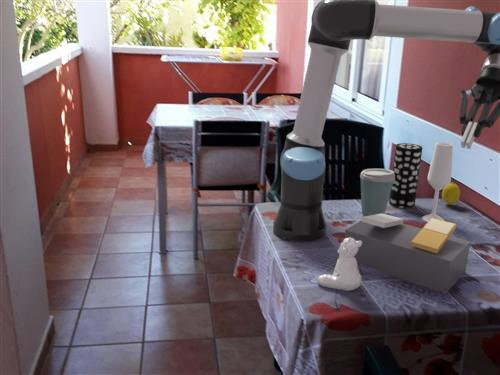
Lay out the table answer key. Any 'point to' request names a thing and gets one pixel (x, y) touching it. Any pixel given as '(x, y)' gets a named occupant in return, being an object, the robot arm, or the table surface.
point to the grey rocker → (382, 220)
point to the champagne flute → (439, 173)
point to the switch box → (409, 255)
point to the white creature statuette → (344, 268)
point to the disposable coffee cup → (375, 190)
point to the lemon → (451, 193)
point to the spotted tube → (405, 175)
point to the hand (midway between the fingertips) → (465, 145)
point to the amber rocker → (433, 235)
